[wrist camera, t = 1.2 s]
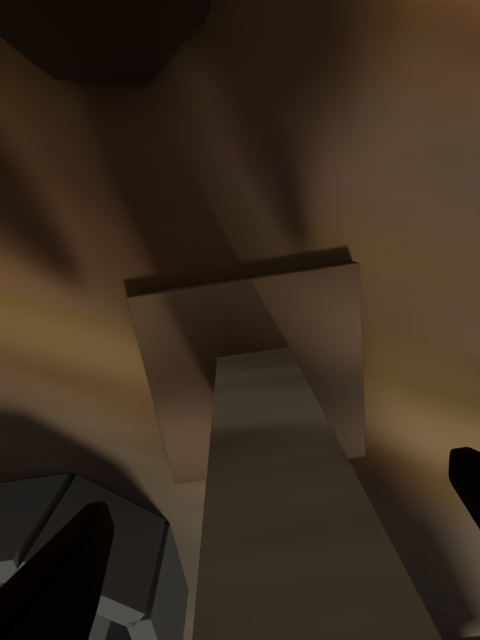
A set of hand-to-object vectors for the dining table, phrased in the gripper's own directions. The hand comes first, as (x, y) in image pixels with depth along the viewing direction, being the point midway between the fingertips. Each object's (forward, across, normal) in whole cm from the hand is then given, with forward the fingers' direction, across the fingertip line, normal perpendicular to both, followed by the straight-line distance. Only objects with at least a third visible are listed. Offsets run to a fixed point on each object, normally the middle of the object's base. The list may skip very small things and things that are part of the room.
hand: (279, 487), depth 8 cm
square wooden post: (+5, 0, 0) cm, 5 cm away
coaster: (+6, 0, 0) cm, 6 cm away
